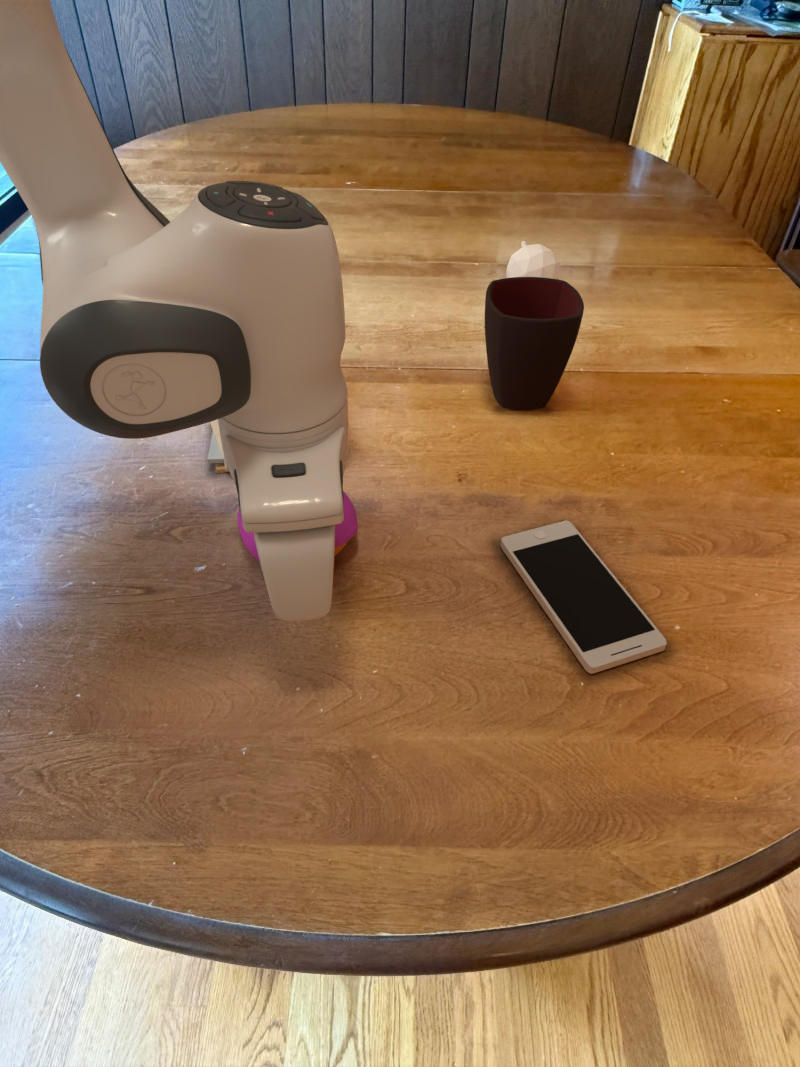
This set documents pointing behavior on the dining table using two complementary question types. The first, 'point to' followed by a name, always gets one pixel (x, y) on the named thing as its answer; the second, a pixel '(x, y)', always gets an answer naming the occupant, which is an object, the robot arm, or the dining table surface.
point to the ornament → (533, 262)
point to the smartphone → (582, 597)
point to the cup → (529, 338)
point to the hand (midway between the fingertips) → (299, 570)
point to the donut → (342, 530)
